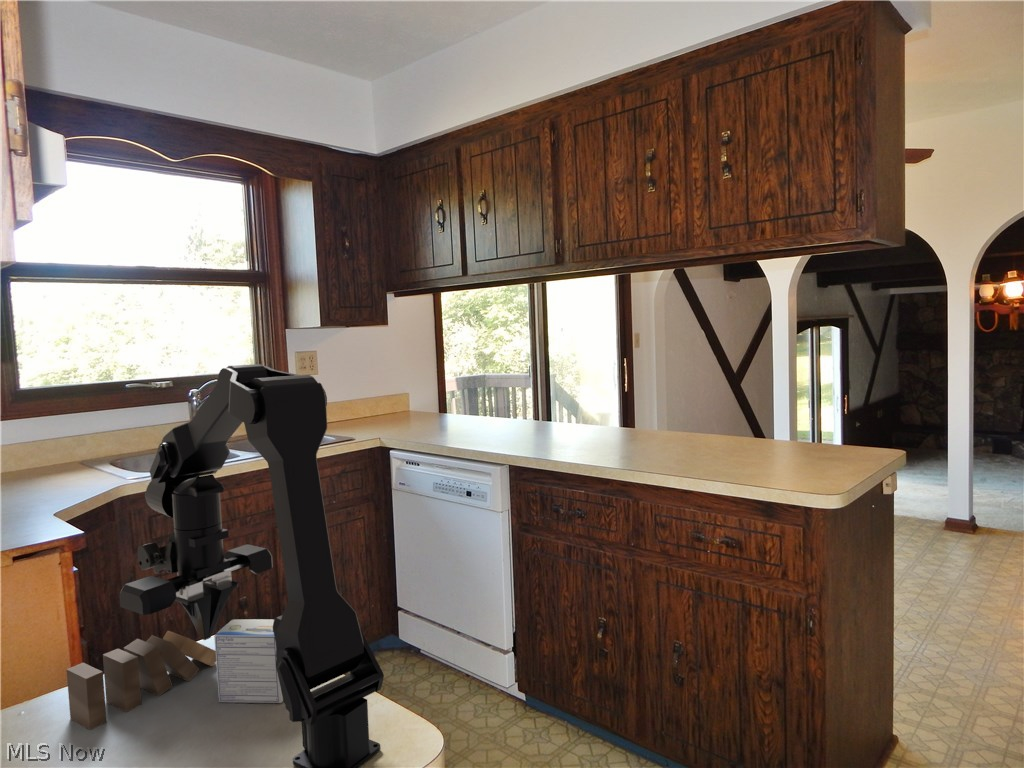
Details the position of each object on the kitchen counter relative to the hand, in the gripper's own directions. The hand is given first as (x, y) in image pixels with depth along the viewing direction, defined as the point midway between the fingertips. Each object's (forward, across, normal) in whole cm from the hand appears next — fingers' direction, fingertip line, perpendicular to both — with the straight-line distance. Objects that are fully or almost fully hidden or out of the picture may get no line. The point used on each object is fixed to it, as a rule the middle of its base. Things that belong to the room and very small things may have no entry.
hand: (205, 638), depth 89 cm
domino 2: (+4, +11, 0) cm, 12 cm away
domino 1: (+4, +15, 0) cm, 15 cm away
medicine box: (+4, +2, +13) cm, 13 cm away
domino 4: (+3, +3, 0) cm, 4 cm away
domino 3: (+3, +7, 0) cm, 8 cm away
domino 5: (+3, 0, -1) cm, 3 cm away
